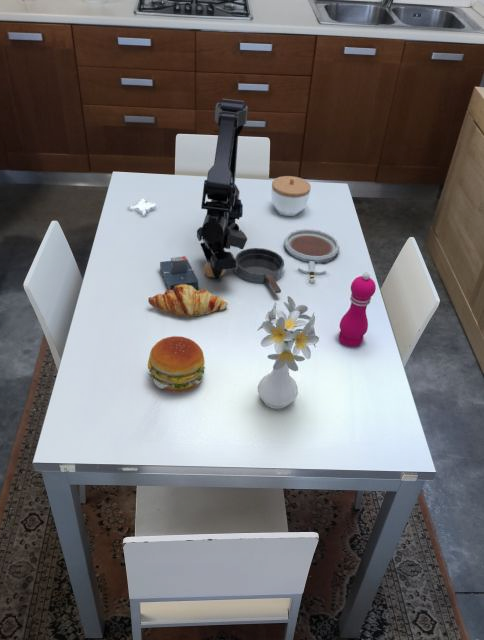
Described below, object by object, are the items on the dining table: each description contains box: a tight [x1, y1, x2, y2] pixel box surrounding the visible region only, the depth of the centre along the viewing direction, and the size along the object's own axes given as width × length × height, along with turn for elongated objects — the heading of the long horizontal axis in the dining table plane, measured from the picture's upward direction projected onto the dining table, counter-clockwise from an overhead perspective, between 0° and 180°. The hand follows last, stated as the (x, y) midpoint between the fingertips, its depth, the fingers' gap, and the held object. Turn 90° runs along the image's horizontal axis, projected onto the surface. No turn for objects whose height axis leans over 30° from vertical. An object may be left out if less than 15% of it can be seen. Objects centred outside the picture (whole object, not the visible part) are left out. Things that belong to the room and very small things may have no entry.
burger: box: [147, 335, 206, 393], centre depth 150 cm, size 14×14×10 cm
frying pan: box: [283, 228, 340, 285], centre depth 193 cm, size 17×3×28 cm
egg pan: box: [233, 247, 285, 284], centre depth 186 cm, size 14×14×4 cm
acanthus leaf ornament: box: [129, 198, 157, 217], centre depth 208 cm, size 8×7×2 cm
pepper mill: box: [338, 272, 377, 348], centre depth 161 cm, size 7×7×20 cm
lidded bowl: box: [271, 175, 312, 217], centre depth 210 cm, size 13×13×11 cm
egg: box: [203, 262, 227, 278], centre depth 182 cm, size 4×6×4 cm
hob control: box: [159, 259, 199, 291], centre depth 180 cm, size 12×8×3 cm
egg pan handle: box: [265, 274, 282, 294], centre depth 178 cm, size 8×2×1 cm, turn 18°
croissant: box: [147, 284, 229, 318], centre depth 171 cm, size 21×10×8 cm, turn 95°
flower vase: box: [256, 295, 320, 410], centre depth 141 cm, size 13×18×25 cm
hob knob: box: [170, 255, 188, 274], centre depth 178 cm, size 4×2×4 cm, turn 107°
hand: (214, 274), depth 184 cm, fingers closed on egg, 4 cm apart
